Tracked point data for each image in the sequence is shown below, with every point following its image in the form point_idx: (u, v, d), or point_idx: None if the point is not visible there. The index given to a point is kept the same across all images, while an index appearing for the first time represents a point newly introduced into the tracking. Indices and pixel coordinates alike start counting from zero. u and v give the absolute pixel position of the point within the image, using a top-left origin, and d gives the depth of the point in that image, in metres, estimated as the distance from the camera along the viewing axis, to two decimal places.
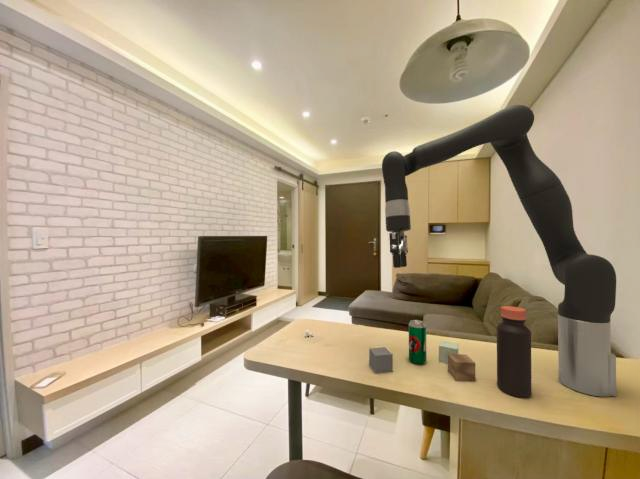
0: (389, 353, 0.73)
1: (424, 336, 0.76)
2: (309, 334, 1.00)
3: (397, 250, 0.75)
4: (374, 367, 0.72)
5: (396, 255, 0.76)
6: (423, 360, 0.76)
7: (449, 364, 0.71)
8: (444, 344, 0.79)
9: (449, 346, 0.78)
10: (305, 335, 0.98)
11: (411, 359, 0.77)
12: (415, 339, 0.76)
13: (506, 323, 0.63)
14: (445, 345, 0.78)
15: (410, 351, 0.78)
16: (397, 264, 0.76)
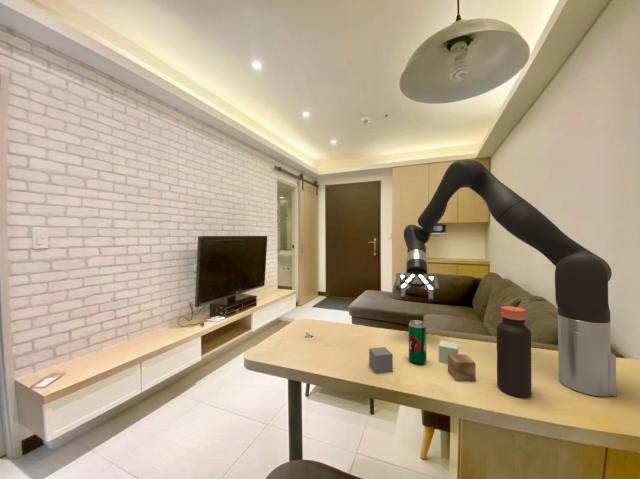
0: (389, 353, 0.73)
1: (424, 336, 0.76)
2: None
3: (396, 285, 0.95)
4: (374, 367, 0.72)
5: (400, 289, 0.94)
6: (423, 360, 0.76)
7: (449, 364, 0.71)
8: (444, 344, 0.79)
9: (449, 346, 0.78)
10: (305, 335, 0.98)
11: (411, 359, 0.77)
12: (415, 339, 0.76)
13: (506, 323, 0.63)
14: (445, 345, 0.78)
15: (410, 351, 0.78)
16: (401, 295, 0.92)
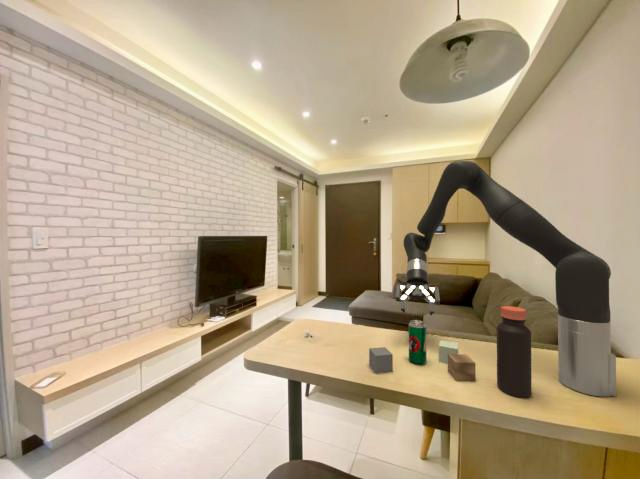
0: (389, 353, 0.73)
1: (424, 336, 0.76)
2: None
3: None
4: (374, 367, 0.72)
5: (400, 301, 0.90)
6: (423, 360, 0.76)
7: (449, 364, 0.71)
8: (444, 344, 0.79)
9: (449, 346, 0.78)
10: (305, 335, 0.98)
11: (411, 359, 0.77)
12: (415, 339, 0.76)
13: (506, 323, 0.63)
14: (445, 345, 0.78)
15: (410, 351, 0.78)
16: None
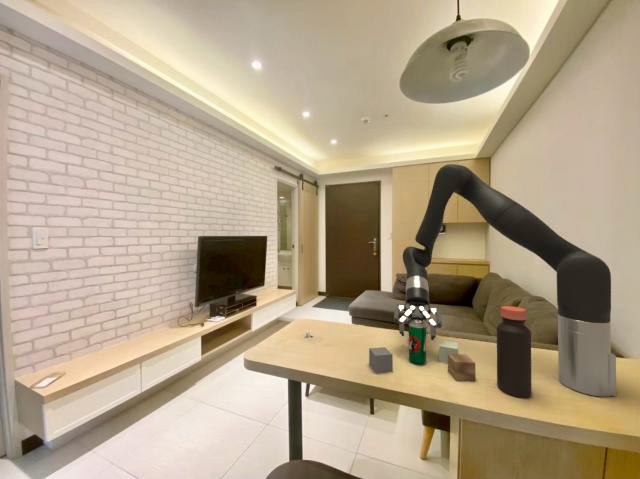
0: (389, 353, 0.73)
1: (424, 336, 0.76)
2: None
3: (394, 318, 0.84)
4: (374, 367, 0.72)
5: (399, 323, 0.83)
6: (423, 360, 0.76)
7: (449, 364, 0.71)
8: (444, 344, 0.79)
9: (449, 346, 0.78)
10: (305, 335, 0.98)
11: (411, 359, 0.77)
12: (415, 339, 0.76)
13: (506, 323, 0.63)
14: (445, 345, 0.78)
15: (410, 351, 0.78)
16: (399, 331, 0.81)
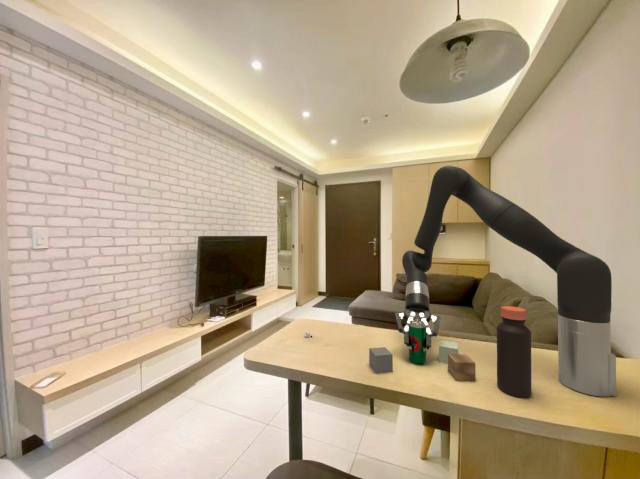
0: (389, 353, 0.73)
1: (424, 336, 0.76)
2: None
3: (398, 327, 0.81)
4: (374, 367, 0.72)
5: (403, 333, 0.80)
6: (423, 360, 0.76)
7: (449, 364, 0.71)
8: (444, 344, 0.79)
9: (449, 346, 0.78)
10: (305, 335, 0.98)
11: (411, 359, 0.77)
12: (415, 338, 0.76)
13: (506, 323, 0.63)
14: (445, 345, 0.78)
15: (410, 351, 0.78)
16: (404, 341, 0.78)
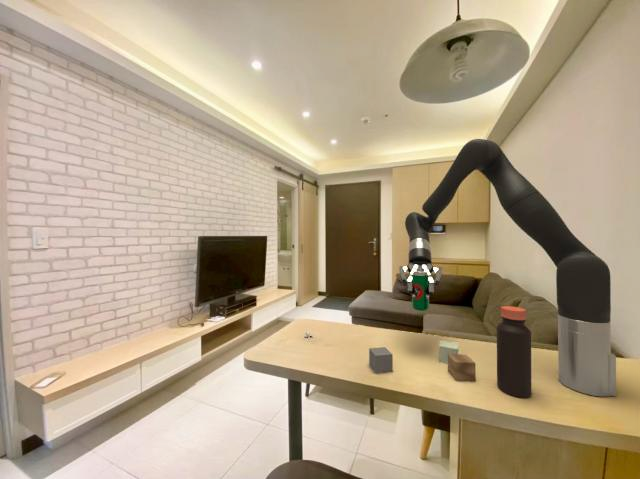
0: (389, 353, 0.73)
1: (427, 283, 0.81)
2: None
3: (402, 278, 0.86)
4: (374, 367, 0.72)
5: (407, 283, 0.85)
6: (425, 306, 0.80)
7: (449, 364, 0.71)
8: (444, 344, 0.79)
9: (449, 346, 0.78)
10: (305, 336, 0.97)
11: (414, 306, 0.82)
12: (418, 286, 0.81)
13: (506, 323, 0.63)
14: (445, 345, 0.78)
15: (413, 299, 0.82)
16: None
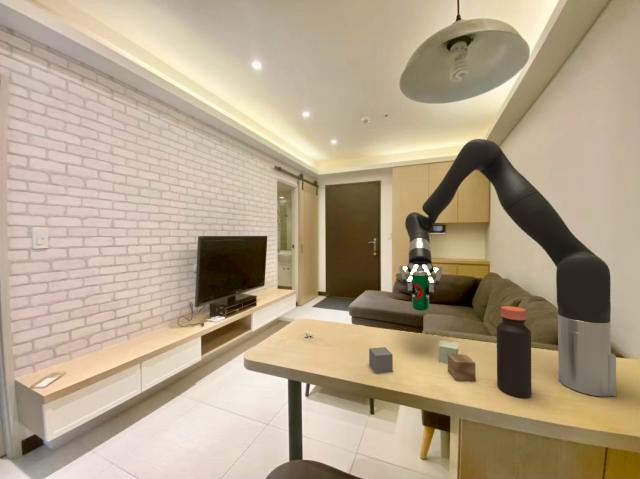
0: (389, 353, 0.73)
1: (427, 283, 0.81)
2: (309, 335, 0.99)
3: (402, 278, 0.86)
4: (374, 367, 0.72)
5: (407, 283, 0.85)
6: (425, 306, 0.80)
7: (449, 364, 0.71)
8: (444, 344, 0.79)
9: (449, 346, 0.78)
10: (305, 336, 0.97)
11: (414, 306, 0.82)
12: (418, 286, 0.81)
13: (506, 323, 0.63)
14: (445, 345, 0.78)
15: (413, 298, 0.82)
16: None
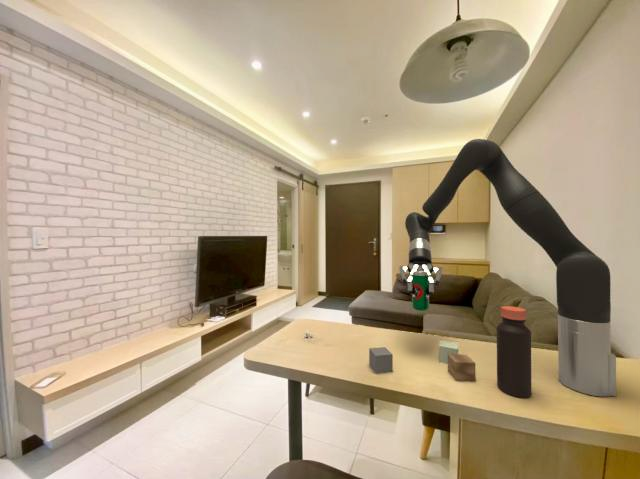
0: (389, 353, 0.73)
1: (427, 283, 0.81)
2: (309, 335, 0.99)
3: (402, 278, 0.86)
4: (374, 367, 0.72)
5: (407, 283, 0.85)
6: (425, 306, 0.80)
7: (449, 364, 0.71)
8: (444, 344, 0.79)
9: (449, 346, 0.78)
10: (305, 336, 0.97)
11: (414, 306, 0.82)
12: (418, 286, 0.81)
13: (506, 323, 0.63)
14: (445, 345, 0.78)
15: (413, 298, 0.82)
16: None
